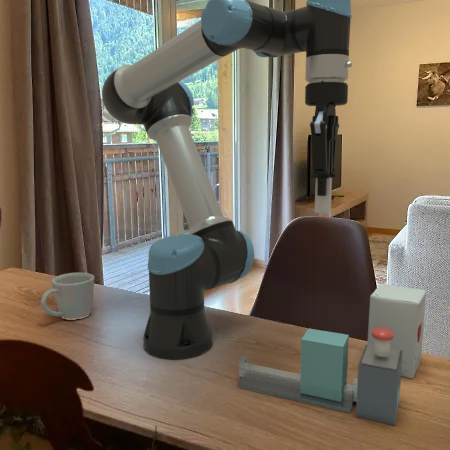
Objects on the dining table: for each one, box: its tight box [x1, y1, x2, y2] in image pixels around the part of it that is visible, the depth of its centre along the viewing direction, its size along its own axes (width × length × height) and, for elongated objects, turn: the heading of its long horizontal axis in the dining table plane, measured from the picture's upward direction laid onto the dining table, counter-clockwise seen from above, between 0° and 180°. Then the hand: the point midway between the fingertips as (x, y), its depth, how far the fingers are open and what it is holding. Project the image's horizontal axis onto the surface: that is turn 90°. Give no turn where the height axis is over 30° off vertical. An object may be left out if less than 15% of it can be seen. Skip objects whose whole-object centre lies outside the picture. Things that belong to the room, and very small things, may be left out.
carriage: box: [299, 328, 350, 402], centre depth 80 cm, size 7×5×10 cm
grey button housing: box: [355, 344, 403, 426], centre depth 77 cm, size 6×8×9 cm
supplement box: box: [366, 283, 427, 380], centre depth 91 cm, size 9×9×15 cm
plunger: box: [372, 327, 394, 357], centre depth 76 cm, size 3×3×4 cm
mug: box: [40, 272, 95, 319], centre depth 117 cm, size 10×15×10 cm
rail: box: [237, 355, 358, 414], centre depth 83 cm, size 22×7×4 cm, turn 65°
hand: (322, 212), depth 88 cm, fingers closed
